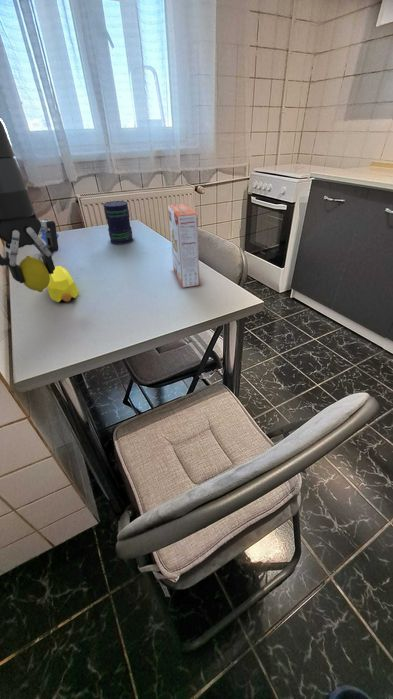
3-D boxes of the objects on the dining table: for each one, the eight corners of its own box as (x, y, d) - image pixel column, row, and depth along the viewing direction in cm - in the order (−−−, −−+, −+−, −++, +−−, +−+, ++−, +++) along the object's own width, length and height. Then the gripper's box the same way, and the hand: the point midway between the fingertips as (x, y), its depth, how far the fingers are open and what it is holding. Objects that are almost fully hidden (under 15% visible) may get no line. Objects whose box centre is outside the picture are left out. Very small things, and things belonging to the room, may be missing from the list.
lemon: (47, 297, 63) (34, 260, 58) (22, 297, 63) (7, 261, 58) (58, 286, 67) (47, 251, 62) (34, 286, 67) (21, 251, 62)
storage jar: (137, 238, 131) (132, 201, 122) (125, 245, 124) (118, 206, 115) (118, 236, 134) (112, 200, 125) (105, 243, 127) (97, 205, 118)
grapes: (64, 254, 116) (54, 222, 109) (46, 257, 114) (35, 224, 107) (62, 246, 125) (53, 215, 118) (45, 248, 123) (35, 217, 116)
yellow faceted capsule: (70, 279, 97) (45, 284, 94) (64, 259, 92) (37, 264, 89) (83, 301, 84) (54, 308, 81) (76, 279, 80) (46, 285, 77)
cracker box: (172, 271, 100) (167, 204, 87) (189, 269, 101) (186, 202, 88) (180, 288, 89) (176, 214, 76) (200, 286, 90) (198, 212, 77)
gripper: (34, 181, 59) (60, 264, 69) (-49, 191, 50) (-7, 283, 61) (51, 184, 55) (76, 271, 65) (-37, 196, 46) (7, 294, 56)
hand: (36, 277), depth 63 cm, fingers closed on lemon, 5 cm apart
